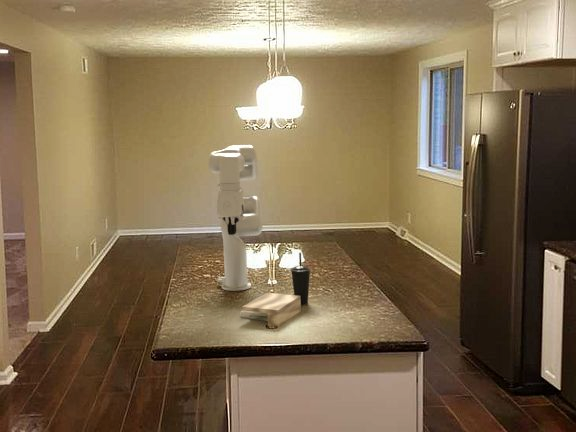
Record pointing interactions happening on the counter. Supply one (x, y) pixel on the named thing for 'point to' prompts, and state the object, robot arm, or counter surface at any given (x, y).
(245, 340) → the counter surface
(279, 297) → the shelf
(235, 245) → the robot arm
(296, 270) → the drinking cup
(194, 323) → the counter surface
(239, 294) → the counter surface
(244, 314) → the white rectangular tray
